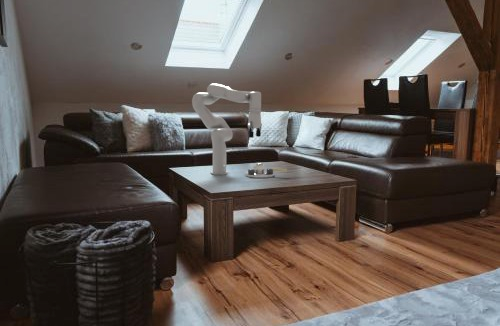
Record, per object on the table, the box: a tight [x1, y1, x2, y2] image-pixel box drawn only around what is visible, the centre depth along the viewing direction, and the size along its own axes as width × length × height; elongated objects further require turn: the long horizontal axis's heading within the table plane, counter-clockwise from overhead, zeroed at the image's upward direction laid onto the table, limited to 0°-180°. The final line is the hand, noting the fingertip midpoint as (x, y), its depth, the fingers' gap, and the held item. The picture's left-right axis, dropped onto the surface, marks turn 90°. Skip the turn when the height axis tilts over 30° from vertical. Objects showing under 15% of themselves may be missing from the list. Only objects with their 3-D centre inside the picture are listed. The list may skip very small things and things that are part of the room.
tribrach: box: [244, 162, 275, 179], centre depth 277 cm, size 20×20×9 cm
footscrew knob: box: [266, 167, 288, 174], centre depth 273 cm, size 14×4×4 cm, turn 72°
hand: (254, 137), depth 266 cm, fingers open, 9 cm apart
